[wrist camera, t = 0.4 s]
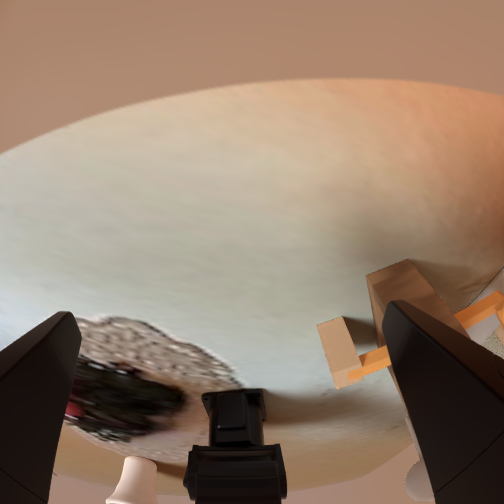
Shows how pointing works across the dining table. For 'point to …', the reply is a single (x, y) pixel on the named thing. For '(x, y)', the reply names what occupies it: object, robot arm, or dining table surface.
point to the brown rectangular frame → (409, 289)
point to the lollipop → (418, 475)
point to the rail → (355, 367)
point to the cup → (136, 483)
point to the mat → (490, 323)
